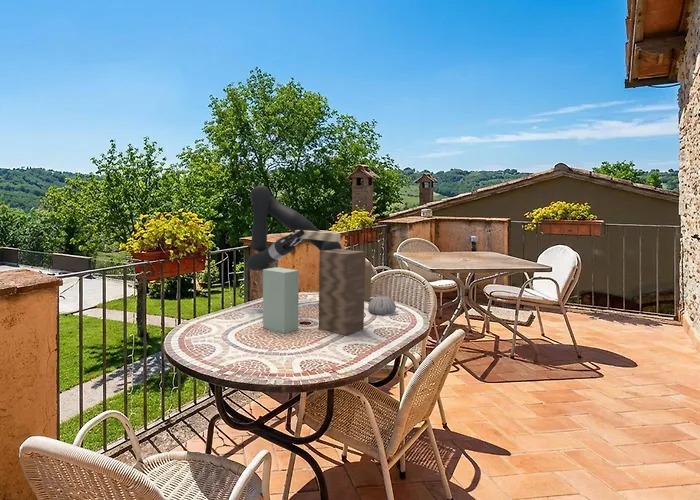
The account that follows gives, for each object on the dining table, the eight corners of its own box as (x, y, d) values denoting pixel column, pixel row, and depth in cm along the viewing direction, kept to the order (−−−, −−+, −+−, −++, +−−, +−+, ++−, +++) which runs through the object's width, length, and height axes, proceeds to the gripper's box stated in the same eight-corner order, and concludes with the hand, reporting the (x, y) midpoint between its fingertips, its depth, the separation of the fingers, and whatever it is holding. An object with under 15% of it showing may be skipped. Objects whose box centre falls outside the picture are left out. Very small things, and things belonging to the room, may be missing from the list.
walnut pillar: (318, 329, 180) (319, 251, 176) (336, 323, 190) (338, 248, 186) (346, 336, 172) (347, 254, 168) (363, 329, 181) (365, 251, 178)
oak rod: (294, 237, 190) (294, 230, 189) (299, 237, 192) (299, 229, 192) (335, 241, 177) (335, 233, 177) (340, 241, 180) (340, 233, 179)
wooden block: (370, 298, 240) (371, 261, 238) (369, 302, 230) (370, 264, 228) (352, 297, 241) (353, 260, 239) (350, 301, 231) (351, 263, 229)
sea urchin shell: (401, 313, 209) (402, 296, 208) (382, 318, 200) (382, 300, 199) (381, 307, 219) (381, 292, 218) (361, 312, 210) (362, 295, 209)
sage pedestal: (263, 327, 180) (263, 269, 178) (277, 323, 187) (277, 267, 184) (284, 333, 173) (284, 272, 171) (298, 328, 180) (298, 270, 177)
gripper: (266, 241, 193) (291, 223, 183) (288, 239, 204) (313, 222, 194) (272, 257, 191) (298, 240, 181) (294, 254, 203) (320, 238, 193)
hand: (306, 231), depth 188 cm, fingers closed on oak rod, 3 cm apart
